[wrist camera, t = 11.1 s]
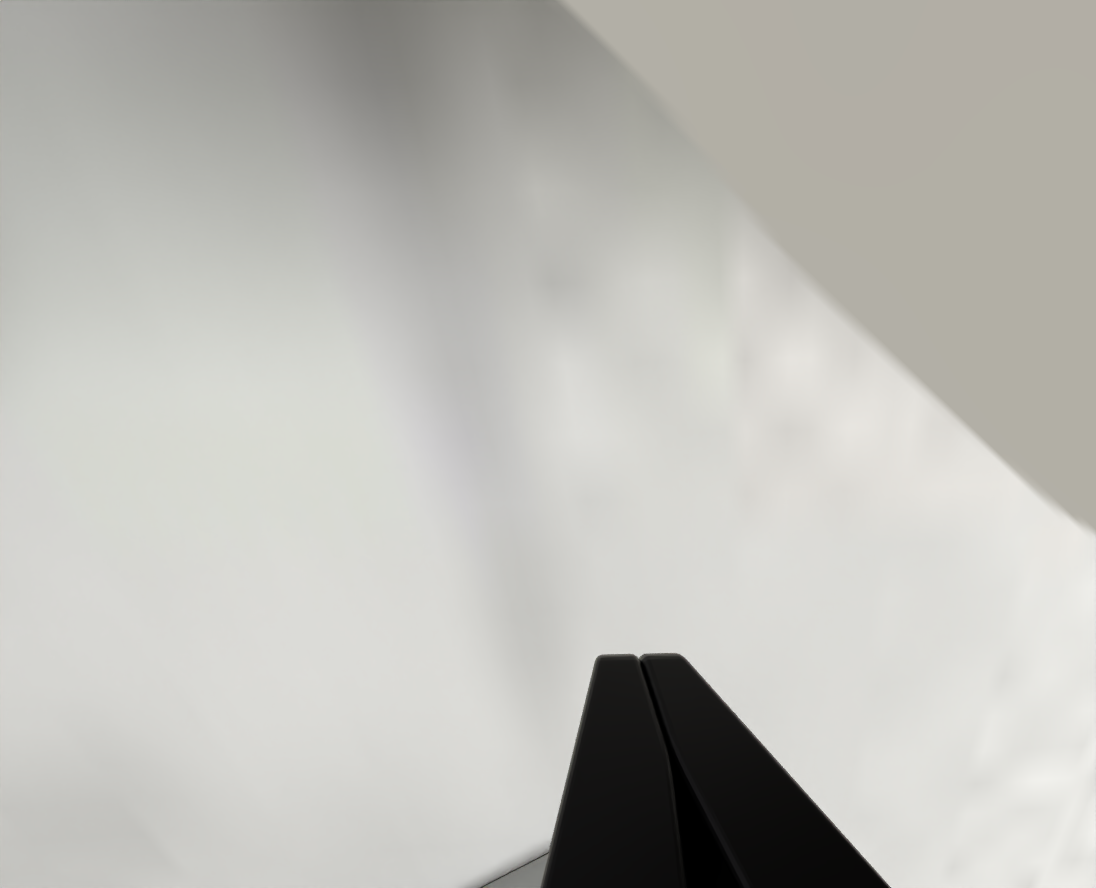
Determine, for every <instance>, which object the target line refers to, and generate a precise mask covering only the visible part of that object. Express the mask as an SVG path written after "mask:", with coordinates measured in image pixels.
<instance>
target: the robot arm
mask: <svg viewBox="0 0 1096 888" xmlns="http://www.w3.org/2000/svg"><path fill="white" fill-rule="evenodd" d="M540 888H891V887H890V886H889V885H888V884H887V883H886V882H885V881H884V879H883V878H882V877H881V876H880V875H879V874H878V873H877V872H876V870H875V869H874V868H873V867H872V866H871V865H870V864H869V863H868V862H867V860H866V859H865V858H864V857H863V856H862V855H861V854H860V853H859V851H858V850H857V849H856V848H855V847H854V846H853V845H852V844H851V843H850V841H849V840H848V839H847V838H846V837H845V836H844V835H843V834H842V833H841V831H840V830H839V829H838V828H837V827H836V826H835V825H834V824H833V822H832V821H831V820H830V819H829V818H828V817H827V816H826V815H825V814H824V812H823V811H822V810H821V809H820V808H819V807H818V806H817V805H816V803H815V802H814V801H813V800H812V799H811V798H810V797H809V796H808V795H807V793H806V792H805V791H804V790H803V789H802V788H801V787H800V786H799V785H798V783H797V782H796V781H795V780H794V779H793V778H792V777H791V776H790V774H789V773H788V772H787V771H786V770H785V769H784V768H783V767H782V766H781V764H780V763H779V762H778V761H777V760H776V759H775V758H774V757H773V755H772V754H771V753H770V752H769V751H768V750H767V749H766V748H765V747H764V745H763V744H762V743H761V742H760V741H759V740H758V739H757V738H756V737H755V735H754V734H753V733H752V732H751V731H750V730H749V729H748V728H747V726H746V725H745V724H744V723H743V722H742V721H741V720H740V719H739V718H738V716H737V715H736V714H735V713H734V712H733V711H732V710H731V709H730V707H729V706H728V705H727V704H726V703H725V702H724V701H723V700H722V699H721V697H720V696H719V695H718V694H717V693H716V692H715V691H714V690H713V689H712V687H711V686H710V685H709V684H708V683H707V682H706V681H705V680H704V678H703V677H702V676H701V675H700V674H699V673H698V672H697V671H696V670H695V668H694V667H693V666H692V665H691V664H690V663H689V662H688V661H687V660H686V659H685V658H684V657H683V656H682V655H680V654H677V653H655V654H644V655H642V656H640V657H639V659H638V657H637V656H635V655H634V654H607V655H600V656H598V657H597V658H596V660H595V664H594V667H593V672H592V676H591V680H590V684H589V688H588V692H587V696H586V700H585V705H584V709H583V713H582V717H581V721H580V725H579V729H578V733H577V738H576V742H575V746H574V750H573V754H572V758H571V762H570V766H569V770H568V775H567V779H566V783H565V787H564V791H563V795H562V799H561V803H560V808H559V812H558V816H557V820H556V824H555V828H554V832H553V836H552V841H551V845H550V849H549V853H548V857H547V861H546V865H545V869H544V873H543V878H542V882H541V886H540Z"/></svg>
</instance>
